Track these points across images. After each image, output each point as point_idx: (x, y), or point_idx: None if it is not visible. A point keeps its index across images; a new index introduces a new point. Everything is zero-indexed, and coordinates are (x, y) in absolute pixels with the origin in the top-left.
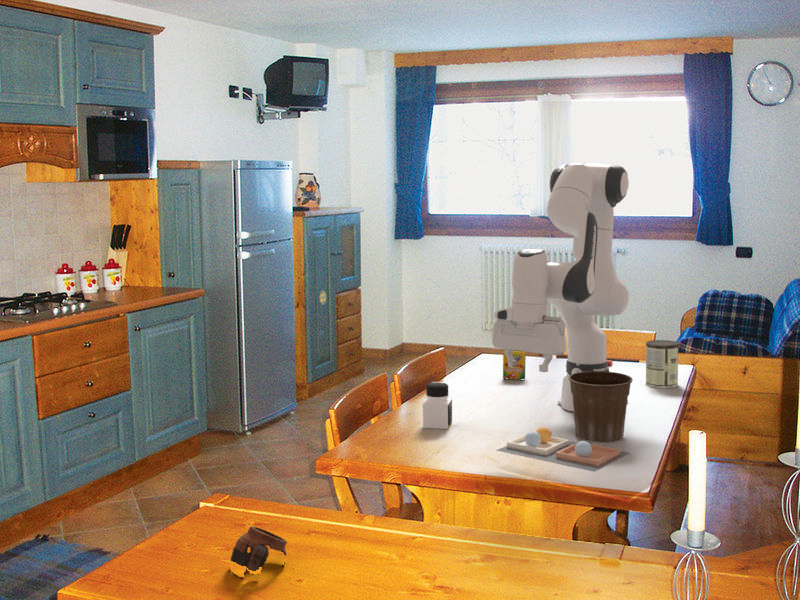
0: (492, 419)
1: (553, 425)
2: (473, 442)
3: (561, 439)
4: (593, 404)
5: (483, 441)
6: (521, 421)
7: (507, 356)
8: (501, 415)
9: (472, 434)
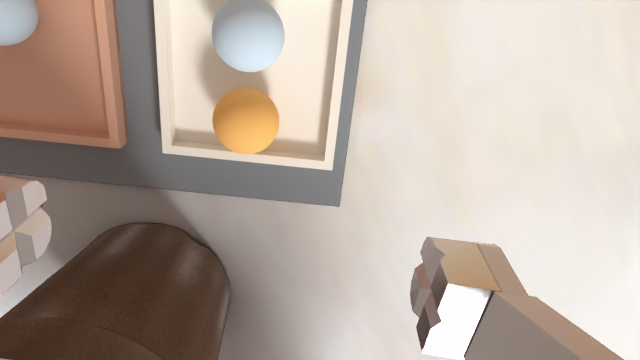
0: (554, 307)
1: (342, 332)
2: (526, 11)
3: (190, 146)
4: (43, 305)
5: (491, 48)
6: None
7: (564, 333)
8: None
9: (567, 114)
